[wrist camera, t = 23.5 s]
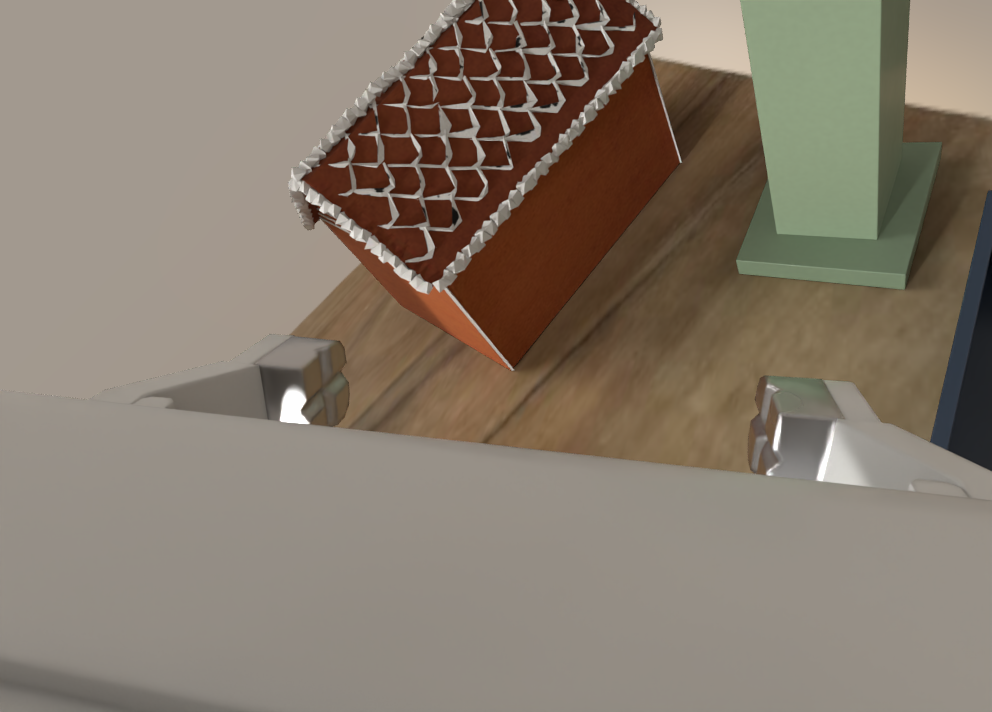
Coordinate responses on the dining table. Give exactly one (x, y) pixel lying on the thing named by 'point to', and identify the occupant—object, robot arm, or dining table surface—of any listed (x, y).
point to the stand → (835, 143)
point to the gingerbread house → (497, 163)
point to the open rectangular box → (971, 363)
